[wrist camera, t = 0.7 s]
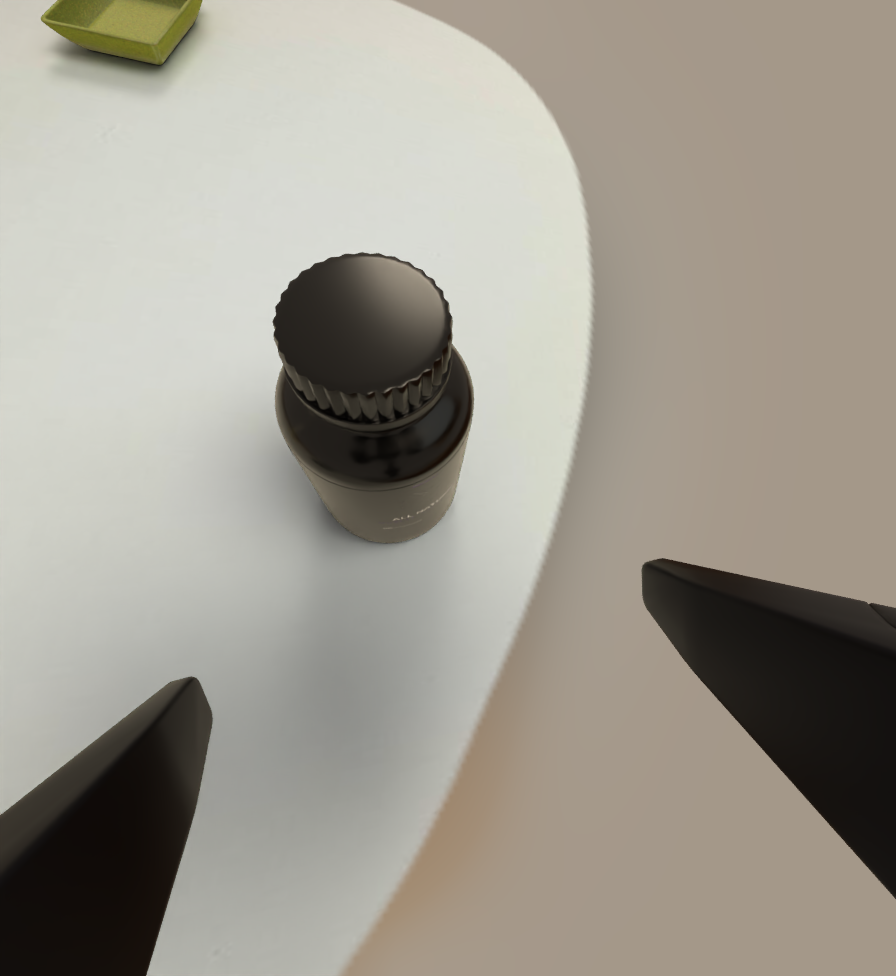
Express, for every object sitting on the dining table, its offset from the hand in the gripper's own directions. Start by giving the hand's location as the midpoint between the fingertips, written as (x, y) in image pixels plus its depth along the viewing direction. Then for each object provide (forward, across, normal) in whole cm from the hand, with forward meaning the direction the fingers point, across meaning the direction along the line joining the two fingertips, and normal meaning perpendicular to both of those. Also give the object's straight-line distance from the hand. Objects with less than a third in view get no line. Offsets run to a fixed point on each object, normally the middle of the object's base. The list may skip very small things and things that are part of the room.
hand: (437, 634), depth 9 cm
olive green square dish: (+39, +12, -32) cm, 52 cm away
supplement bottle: (+15, 0, +1) cm, 15 cm away
